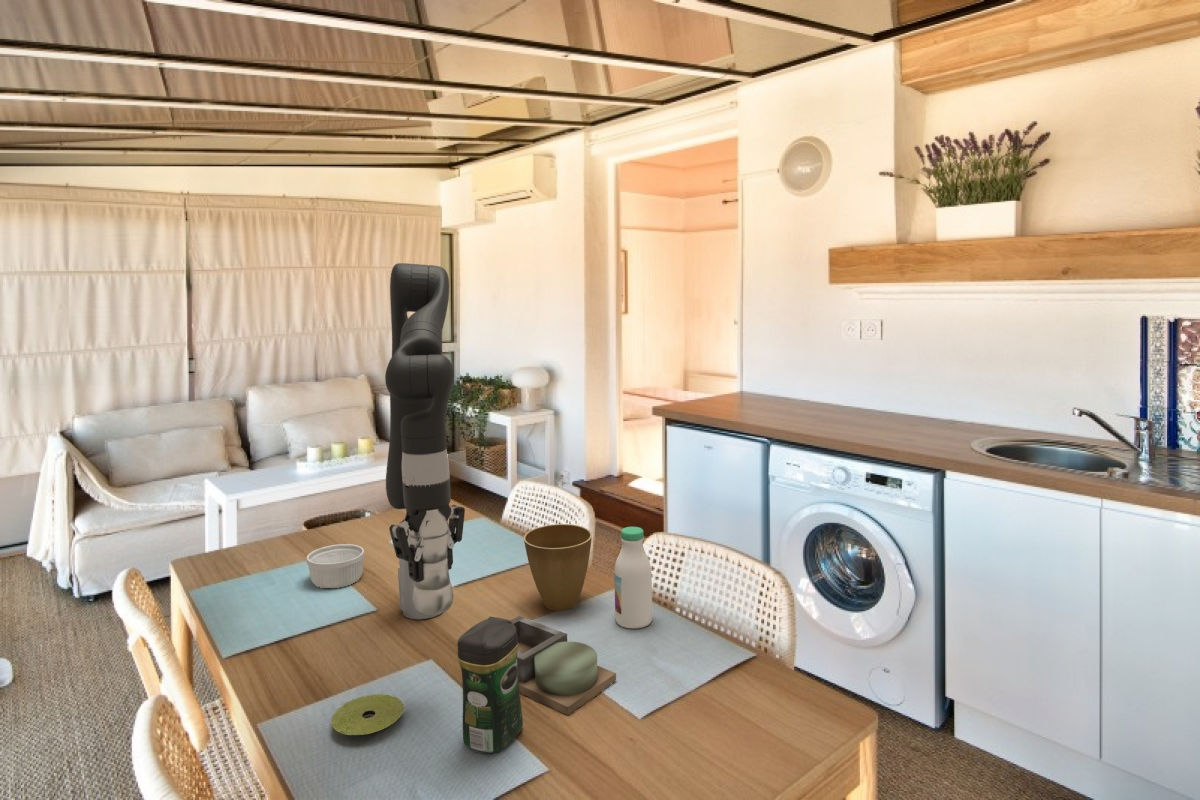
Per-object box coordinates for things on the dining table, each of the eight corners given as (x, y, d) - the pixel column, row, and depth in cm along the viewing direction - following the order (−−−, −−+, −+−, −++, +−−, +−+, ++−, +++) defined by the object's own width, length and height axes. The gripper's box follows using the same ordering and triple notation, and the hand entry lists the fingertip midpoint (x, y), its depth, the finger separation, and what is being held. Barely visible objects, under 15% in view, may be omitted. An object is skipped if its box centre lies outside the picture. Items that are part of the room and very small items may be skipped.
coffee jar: (488, 714, 119) (483, 608, 116) (530, 725, 116) (525, 617, 113) (453, 748, 110) (446, 635, 107) (497, 762, 107) (491, 645, 104)
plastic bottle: (445, 621, 117) (438, 503, 114) (406, 617, 119) (399, 501, 116) (460, 603, 124) (454, 491, 120) (423, 600, 125) (417, 490, 122)
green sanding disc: (355, 755, 109) (354, 743, 109) (319, 726, 117) (318, 715, 116) (418, 721, 117) (417, 710, 117) (380, 696, 125) (379, 686, 125)
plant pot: (530, 590, 167) (528, 524, 165) (594, 589, 167) (593, 523, 164) (522, 619, 152) (519, 547, 150) (592, 619, 152) (590, 547, 149)
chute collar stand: (470, 669, 133) (468, 639, 132) (520, 641, 143) (519, 613, 142) (568, 715, 118) (567, 681, 117) (616, 680, 128) (615, 649, 127)
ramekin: (377, 576, 177) (375, 549, 176) (332, 596, 166) (330, 567, 165) (342, 566, 184) (340, 540, 183) (297, 584, 173) (294, 557, 172)
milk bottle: (657, 616, 153) (656, 526, 149) (644, 632, 146) (642, 538, 142) (623, 610, 156) (622, 521, 153) (609, 625, 149) (607, 533, 146)
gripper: (445, 464, 125) (450, 556, 128) (374, 483, 114) (381, 583, 117) (474, 470, 121) (479, 566, 123) (403, 491, 110) (410, 595, 112)
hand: (431, 574), depth 120 cm, fingers closed on plastic bottle, 5 cm apart
